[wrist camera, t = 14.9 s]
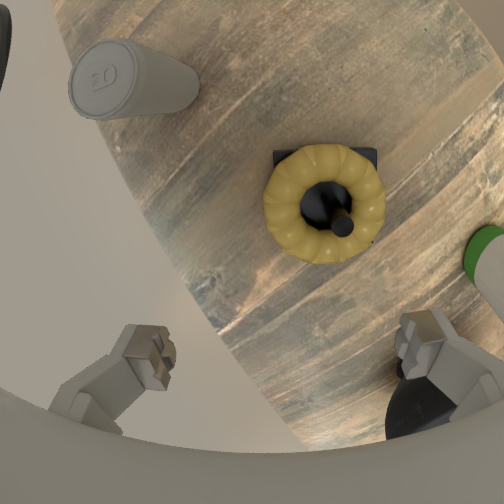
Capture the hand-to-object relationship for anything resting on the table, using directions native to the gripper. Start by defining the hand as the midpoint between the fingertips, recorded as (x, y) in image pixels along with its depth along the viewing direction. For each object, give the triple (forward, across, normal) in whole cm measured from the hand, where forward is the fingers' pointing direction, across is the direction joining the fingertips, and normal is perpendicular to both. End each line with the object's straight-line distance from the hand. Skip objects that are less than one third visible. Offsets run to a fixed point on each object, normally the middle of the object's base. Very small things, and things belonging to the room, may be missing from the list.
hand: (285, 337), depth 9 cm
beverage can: (+18, +8, -10) cm, 23 cm away
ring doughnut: (+15, -4, +1) cm, 16 cm away
